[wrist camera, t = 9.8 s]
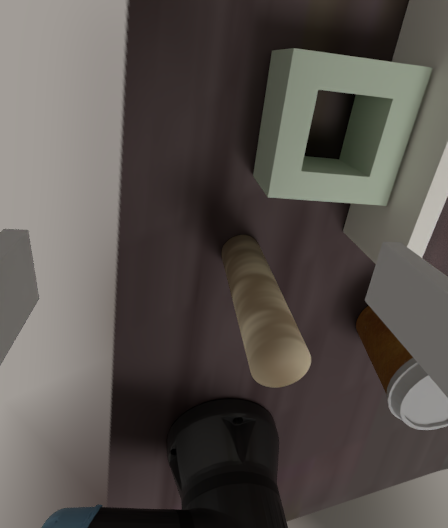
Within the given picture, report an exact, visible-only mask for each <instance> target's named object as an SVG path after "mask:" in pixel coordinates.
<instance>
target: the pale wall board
mask: <svg viewBox="0 0 448 528" xmlns="http://www.w3.org/2000/svg"><path fill="white" fill-rule="evenodd" d="M392 62H396V63H403V64H410V65H417V66H424V67H431V68H433V69H432V72H431V75H430V78H429V81H428V84H427V86H426V89H425V92H424V95H423V98H422V101H421V104H420V107H419V110H418V113H417V116H416V119H415V122H414V125H413V128H412V131H411V134H410V137H409V140H408V143H407V146H406V149H405V152H404V155H403V158H402V161H401V164H400V167H399V170H398V173H397V176H396V179H395V182H394V185H393V188H392V191H391V194H390V197H389V200H388V203H387V206H381V205H367V204H354V203H351V205H350V208H349V212H348V215H347V219H346V222H345V225H344V229H343V232H344V233H345V234H346V235H347V236H348V237H349V238H350V239H351V240H352V241H353V242H354V243H355V244H356V245H357V246H358V247H359V248H360V249H361V250H362V251H363V252H364V253H365V254H366V255H367V256H368V257H369V258H370V259H371V260H372V261H373V262H374V263H375V264H376V262H377V259H378V256H379V253H380V249H381V246H382V243H383V242H401V243H402V244H404V245H405V246H406V247H408V248H409V249H410V250H412V251H413V252H414V253H416V254H417V255H419V256H420V257H421V258H422V257H423V254H424V252H425V250H426V247H427V245H428V242H429V240H430V237H431V235H432V233H433V230H434V228H435V225H436V223H437V220H438V218H439V216H440V213H441V211H442V208H443V206H444V203H445V201H446V199H447V196H448V0H409V3H408V6H407V10H406V13H405V17H404V20H403V24H402V27H401V31H400V34H399V38H398V41H397V45H396V48H395V51H394V55H393V58H392Z"/></svg>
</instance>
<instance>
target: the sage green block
mask: <svg viewBox="0 0 448 528" xmlns="http://www.w3.org/2000/svg"><path fill="white" fill-rule="evenodd" d="M432 69H433V68H431V67H424V66H417V65H410V64H403V63H396V62H389V61H382V60H375V59H368V58H361V57H354V56H347V55H339V54H332V53H325V52H318V51H311V50H304V49H297V48H290V49H281V50H272V54H271V61H270V67H269V74H268V81H267V87H266V94H265V100H264V107H263V114H262V120H261V127H260V133H259V140H258V147H257V153H256V160H255V166H254V173H253V177H254V178H255V180H256V181H257V183H258V184H259V185H260V187H261V188H262V190H263V191H264V193H265V194H266V195H267V197H271V198H285V199H299V200H312V201H326V202H340V203H354V204H367V205H381V206H387V203H388V200H389V197H390V194H391V191H392V188H393V185H394V182H395V179H396V176H397V173H398V170H399V167H400V164H401V161H402V158H403V155H404V152H405V149H406V146H407V143H408V140H409V137H410V134H411V131H412V128H413V125H414V122H415V119H416V116H417V113H418V110H419V107H420V104H421V101H422V98H423V95H424V92H425V89H426V86H427V84H428V81H429V78H430V75H431V72H432ZM318 90H326V91H334V92H342V93H350V94H356V96H355V99H354V103H353V107H352V111H351V115H350V119H349V123H348V127H347V131H346V135H345V138H344V142H343V146H342V150H341V154H340V158H339V159H331V158H320V157H309V156H304V155H305V150H306V145H307V140H308V136H309V131H310V126H311V121H312V117H313V112H314V107H315V103H316V98H317V93H318Z"/></svg>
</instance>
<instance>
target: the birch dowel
mask: <svg viewBox="0 0 448 528" xmlns="http://www.w3.org/2000/svg"><path fill="white" fill-rule="evenodd" d="M221 255H222V260H223V264H224V268H225V272H226V276H227V280H228V284H229V288H230V292H231V296H232V300H233V304H234V308H235V312H236V316H237V320H238V324H239V327H240V331H241V335H242V339H243V343H244V347H245V351H246V355H247V359H248V363H249V367H250V371H251V375H252V377H253V378H254V380H255V381H256V382H258V383H259V384H261V385H264V386H267V387H283V386H287V385H290V384H292V383H294V382H296V381H298V380H299V379H301V378H302V377H303V376H304V375H305V374H306V372H307V371H308V369H309V367H310V364H311V356H310V353H309V351H308V348H307V346H306V344H305V342H304V340H303V338H302V336H301V334H300V331H299V329H298V327H297V325H296V323H295V321H294V319H293V316H292V314H291V312H290V310H289V308H288V306H287V304H286V302H285V299H284V297H283V295H282V293H281V291H280V289H279V287H278V285H277V282H276V280H275V278H274V276H273V274H272V272H271V270H270V268H269V265H268V263H267V261H266V259H265V257H264V255H263V253H262V250H261V248H260V246H259V244H258V242H257V241H256V240H255V239H254V238H252V237H250V236H247V235H237V236H234V237H232V238H230V239H229V240H228V241H227V242H226V243H225V244H224V246H223V248H222V253H221Z"/></svg>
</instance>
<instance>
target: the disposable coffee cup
mask: <svg viewBox="0 0 448 528" xmlns="http://www.w3.org/2000/svg"><path fill="white" fill-rule="evenodd" d="M356 329H357V332H358V334H359V336H360V338H361V340H362V343H363V345H364V347H365V349H366V351H367V353H368V356H369V358H370V360H371V362H372V364H373V366H374V369H375V370H376V373H377V375H378V377H379V379H380V381H381V383H382V385H383V388H384V390H385V392H386V395H387V400H388V406H389V409H390V411H391V412H392V413H393V414H394V416H395V417H397V418H399V419H401V420H403V421H404V422H405V423H406V424H407V425H408V426H410V427H412V428H415V429H419V430H434V429H438V428H442V427H446V426H448V398H447V396H446V395H445V394H444V393H443V392H442V390H441V389H440V388H439V387H438V386H437V385H436V383H435V382H434V381H433V380H432V379H431V378H430V376H429V375H428V374H427V373H426V372H425V371H424V369H423V368H422V367H421V366H420V365H419V364H418V362H417V361H416V360H415V359H414V358H413V357H412V355H411V354H410V353H409V352H408V351H407V349H406V348H405V347H404V346H403V345H402V344H401V342H400V341H399V340H398V339H397V338H396V337H395V335H394V334H393V333H392V332H391V331H390V330H389V328H388V327H387V326H386V325H385V324H384V323H383V321H382V320H381V319H380V318H379V317H378V316H377V314H376V313H375V312H374V311H373V310H372V308H371V307H370V306H367V307H366V308H365V309H364V310H363V311H362V312H361V314H360V315H359V317H358V319H357V322H356Z"/></svg>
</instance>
